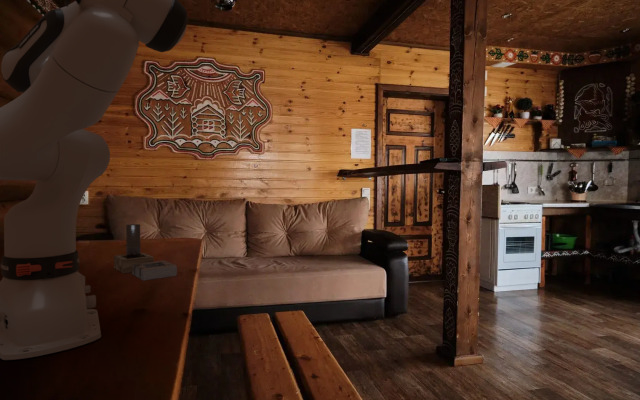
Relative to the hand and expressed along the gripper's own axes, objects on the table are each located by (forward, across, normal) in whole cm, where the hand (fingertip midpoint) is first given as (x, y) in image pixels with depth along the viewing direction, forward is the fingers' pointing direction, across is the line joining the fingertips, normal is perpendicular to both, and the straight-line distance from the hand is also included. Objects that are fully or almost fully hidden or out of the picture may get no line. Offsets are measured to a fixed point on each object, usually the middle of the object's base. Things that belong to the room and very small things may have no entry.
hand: (57, 167), depth 102 cm
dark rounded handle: (+31, +6, -21) cm, 38 cm away
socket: (+31, -6, -23) cm, 39 cm away
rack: (+31, +6, -21) cm, 38 cm away
